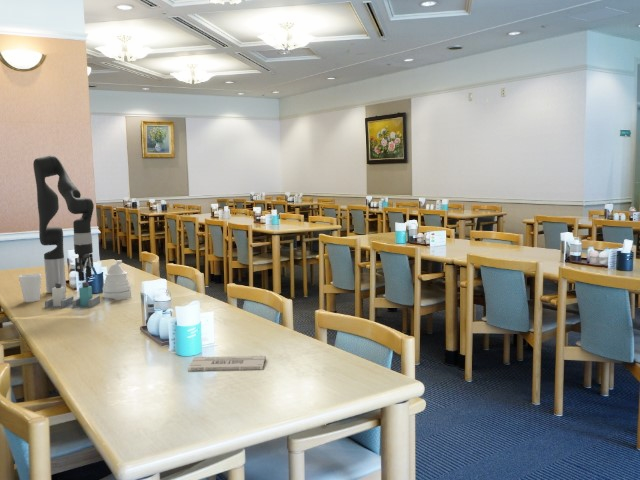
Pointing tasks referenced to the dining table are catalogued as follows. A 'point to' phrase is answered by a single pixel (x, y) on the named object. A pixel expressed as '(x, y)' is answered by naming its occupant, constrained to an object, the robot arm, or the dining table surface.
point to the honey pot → (116, 283)
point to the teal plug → (85, 294)
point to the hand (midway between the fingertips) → (85, 278)
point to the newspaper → (227, 363)
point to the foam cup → (30, 286)
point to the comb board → (72, 303)
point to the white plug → (58, 294)
